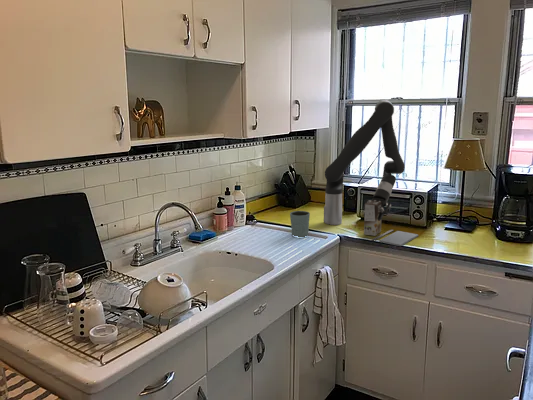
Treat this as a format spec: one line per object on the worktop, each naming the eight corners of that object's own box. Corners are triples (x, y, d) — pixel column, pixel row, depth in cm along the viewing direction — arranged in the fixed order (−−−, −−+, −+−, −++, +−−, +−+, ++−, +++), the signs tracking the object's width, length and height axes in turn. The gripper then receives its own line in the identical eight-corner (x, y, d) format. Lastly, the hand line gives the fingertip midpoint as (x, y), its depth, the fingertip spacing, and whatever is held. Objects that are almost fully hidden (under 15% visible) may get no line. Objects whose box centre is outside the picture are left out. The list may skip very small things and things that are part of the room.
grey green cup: (295, 239, 227) (295, 216, 224) (286, 234, 236) (286, 211, 233) (313, 236, 231) (313, 214, 228) (304, 231, 240) (304, 209, 237)
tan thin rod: (370, 240, 223) (370, 239, 223) (390, 230, 239) (390, 229, 239) (373, 241, 222) (373, 240, 222) (393, 230, 238) (393, 230, 238)
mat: (379, 241, 221) (379, 240, 220) (397, 232, 235) (397, 230, 235) (400, 246, 214) (400, 244, 213) (418, 236, 228) (418, 234, 228)
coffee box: (375, 236, 229) (377, 205, 225) (363, 234, 232) (364, 203, 228) (381, 231, 236) (382, 201, 232) (369, 229, 239) (370, 200, 236)
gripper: (368, 186, 239) (356, 212, 233) (394, 189, 230) (382, 217, 224) (373, 194, 244) (361, 220, 238) (398, 198, 235) (386, 224, 229)
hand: (371, 218), depth 231 cm, fingers closed on coffee box, 7 cm apart
